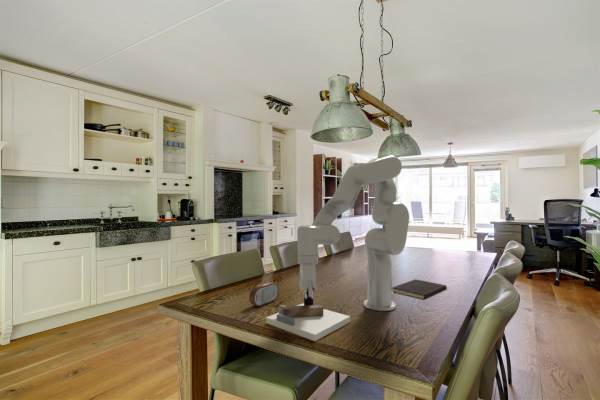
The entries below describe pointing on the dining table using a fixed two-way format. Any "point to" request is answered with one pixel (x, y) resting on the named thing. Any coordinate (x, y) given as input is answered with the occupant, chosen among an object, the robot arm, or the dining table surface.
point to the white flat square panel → (310, 323)
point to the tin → (264, 293)
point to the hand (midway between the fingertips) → (308, 308)
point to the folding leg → (301, 310)
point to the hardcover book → (419, 288)
